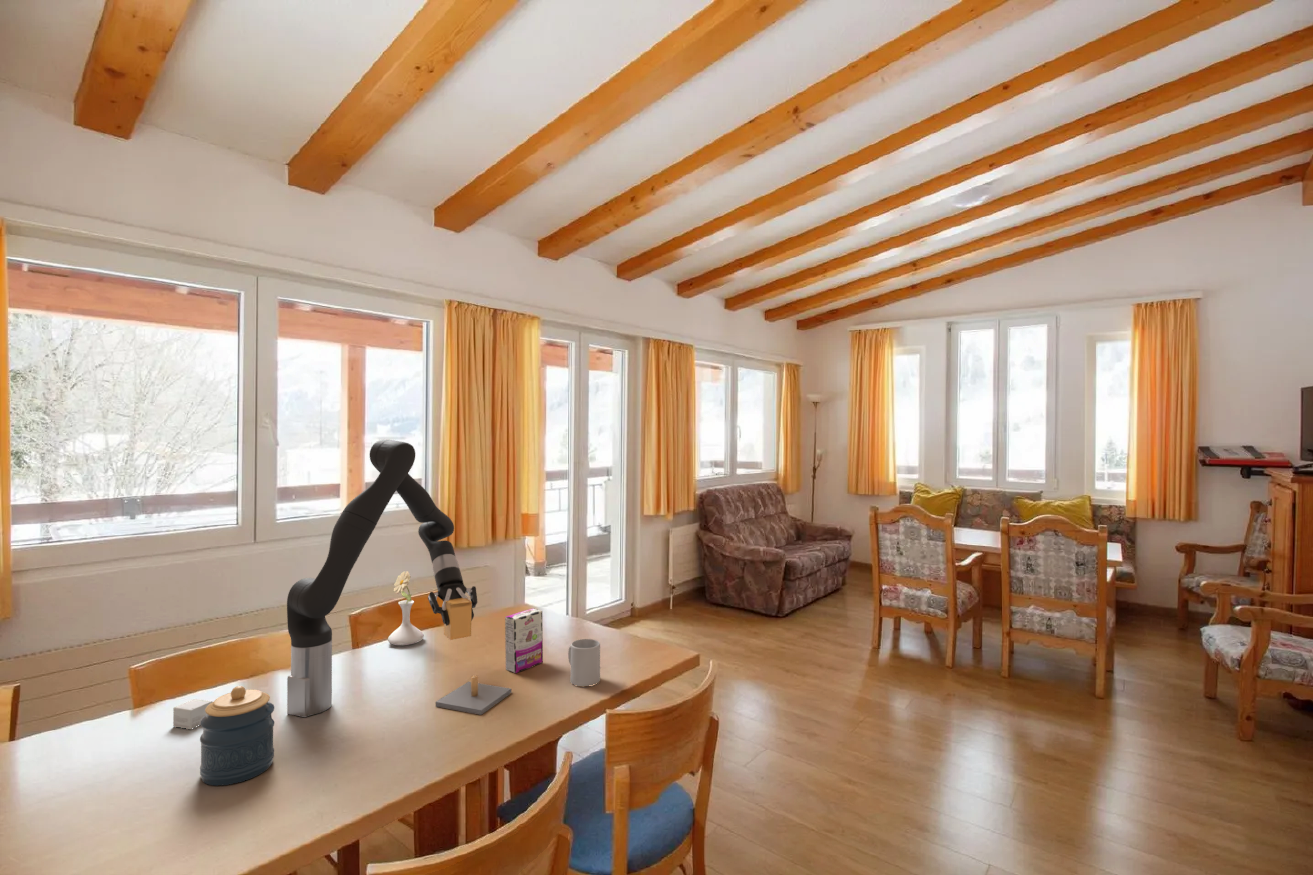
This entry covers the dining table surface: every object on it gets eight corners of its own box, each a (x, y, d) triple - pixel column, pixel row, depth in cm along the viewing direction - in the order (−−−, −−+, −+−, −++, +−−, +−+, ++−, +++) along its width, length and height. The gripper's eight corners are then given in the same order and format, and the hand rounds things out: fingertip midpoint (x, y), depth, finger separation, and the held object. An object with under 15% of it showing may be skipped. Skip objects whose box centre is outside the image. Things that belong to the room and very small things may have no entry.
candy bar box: (532, 659, 194) (532, 607, 194) (543, 662, 191) (543, 610, 191) (504, 669, 186) (504, 615, 185) (514, 674, 183) (515, 618, 182)
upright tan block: (471, 636, 178) (471, 601, 178) (450, 640, 174) (450, 604, 174) (464, 630, 182) (464, 596, 182) (443, 634, 179) (444, 599, 179)
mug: (606, 681, 177) (606, 643, 177) (582, 690, 172) (582, 650, 171) (580, 669, 186) (581, 633, 186) (557, 677, 180) (557, 640, 180)
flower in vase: (387, 639, 212) (387, 567, 211) (422, 635, 216) (423, 564, 216) (388, 652, 200) (388, 575, 199) (425, 647, 204) (426, 572, 204)
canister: (261, 747, 139) (261, 669, 139) (283, 767, 131) (284, 685, 131) (191, 771, 129) (191, 687, 129) (210, 795, 121) (211, 705, 121)
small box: (213, 720, 152) (213, 700, 152) (190, 730, 147) (190, 710, 147) (195, 717, 154) (195, 697, 154) (172, 727, 148) (172, 707, 148)
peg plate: (481, 714, 156) (481, 690, 156) (435, 706, 161) (435, 682, 161) (511, 692, 169) (511, 670, 169) (468, 685, 174) (468, 663, 174)
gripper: (425, 568, 180) (437, 619, 170) (473, 563, 189) (487, 611, 179) (420, 583, 184) (431, 633, 175) (467, 577, 193) (480, 624, 183)
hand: (459, 621), depth 177 cm, fingers closed on upright tan block, 6 cm apart
